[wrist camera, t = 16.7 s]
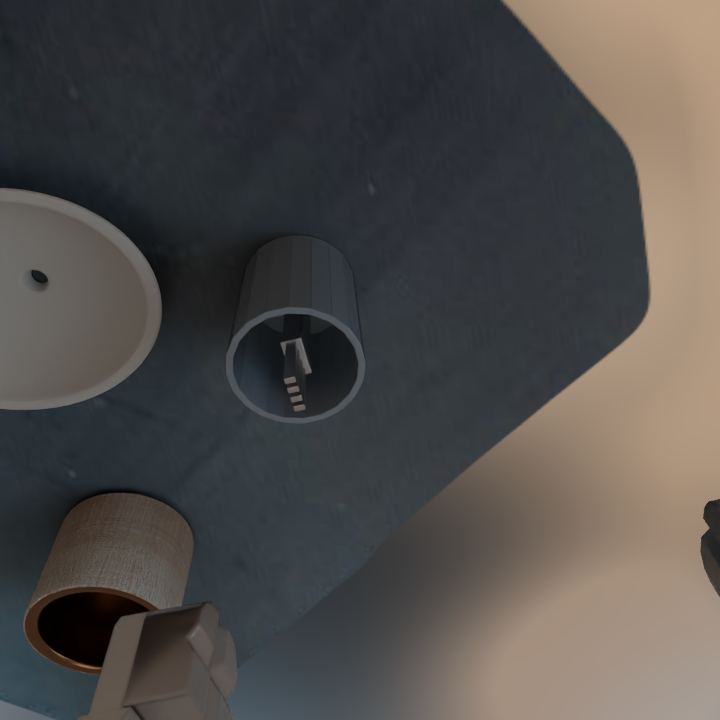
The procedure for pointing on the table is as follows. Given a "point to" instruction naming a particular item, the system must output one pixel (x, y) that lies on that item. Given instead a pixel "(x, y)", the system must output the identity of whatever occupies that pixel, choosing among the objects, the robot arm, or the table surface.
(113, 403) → the table surface
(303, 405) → the grey slender bar
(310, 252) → the grey cup
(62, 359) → the dish
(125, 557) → the planter
